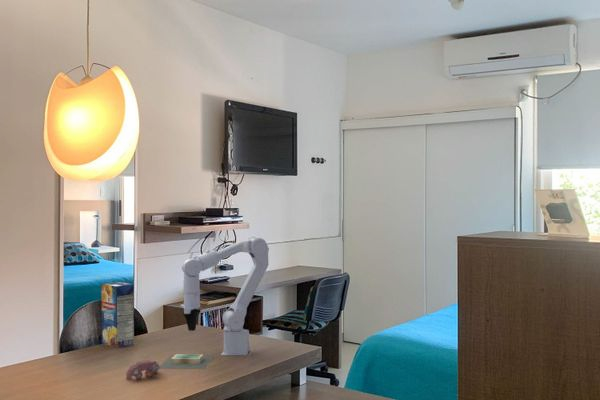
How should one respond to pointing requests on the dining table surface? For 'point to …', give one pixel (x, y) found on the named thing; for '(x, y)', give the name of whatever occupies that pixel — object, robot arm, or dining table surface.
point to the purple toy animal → (142, 369)
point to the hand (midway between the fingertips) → (191, 330)
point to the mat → (202, 365)
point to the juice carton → (118, 314)
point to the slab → (187, 358)
